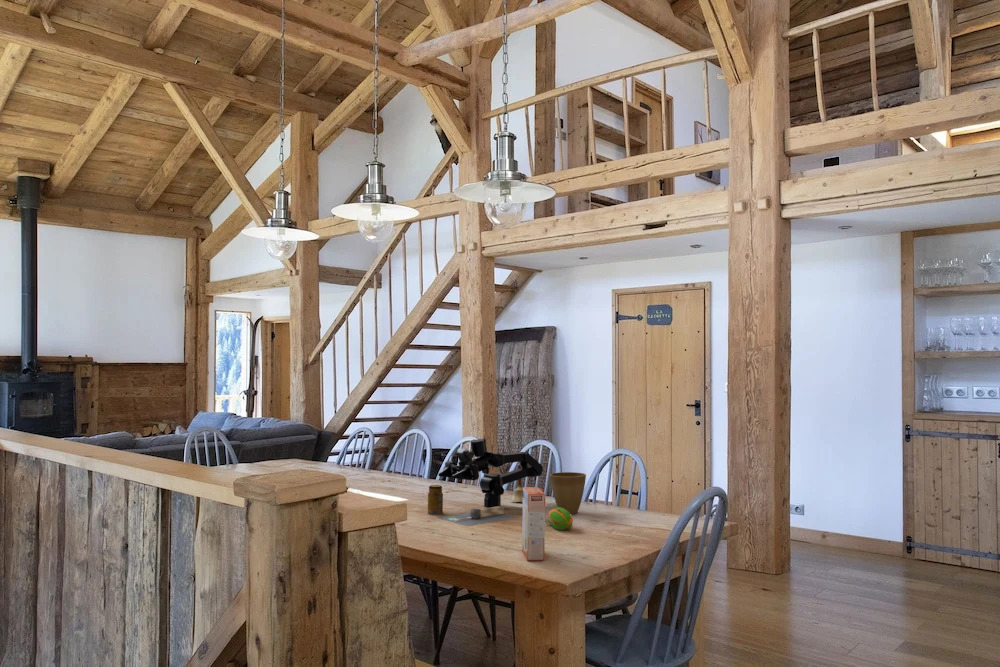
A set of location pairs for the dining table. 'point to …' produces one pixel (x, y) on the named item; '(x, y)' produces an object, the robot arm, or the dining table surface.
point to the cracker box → (533, 524)
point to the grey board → (476, 521)
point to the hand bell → (518, 491)
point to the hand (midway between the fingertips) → (445, 476)
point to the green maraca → (560, 519)
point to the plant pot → (568, 490)
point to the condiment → (435, 500)
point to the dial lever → (484, 512)
